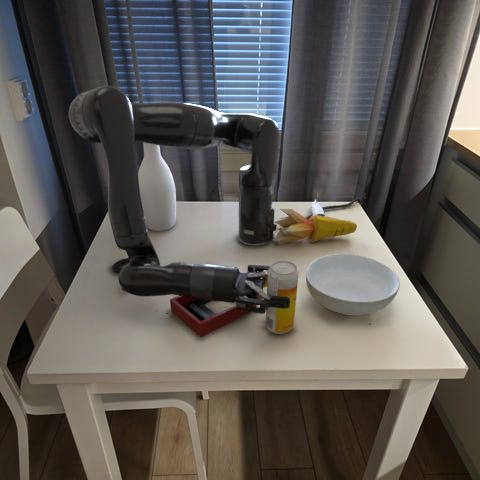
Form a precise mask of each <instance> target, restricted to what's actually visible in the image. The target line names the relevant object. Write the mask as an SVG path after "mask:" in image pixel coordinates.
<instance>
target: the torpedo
mask: <svg viewBox="0 0 480 480" xmlns="http://www.w3.org/2000/svg"><path fill="white" fill-rule="evenodd" d="M318 194H319V192H316V197H318V196H319V195H318ZM322 207H323V204H322V203H321V202H318V201H317V199H314V201H313V202H312V201H311V205H310V206H308V208H309V209H310V212H311V214H312V215H313V216H314V215H319V216H325V217H326V214H325V210H323V208H322Z"/></svg>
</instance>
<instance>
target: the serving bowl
mask: <svg viewBox="0 0 480 480" xmlns="http://www.w3.org/2000/svg"><path fill="white" fill-rule="evenodd" d="M305 284H306V287H307V290H308V292H309V293H310V295H311V296H312V298H313V299H314V300H315V301H316V302H317V303H318V304H320V306H322V307H324V308H326V309H327V310H329V311H332V312H335V313H339V314H341V315H342V314H343V315H348V316H365V315H370V314H373V313H376V312H378V311H381V310H383V309H385V308H386V307H387V306H389V305H390V304H391V303H392V301H393V300H394V299H395V297H396V296H397V294H398V292H399V290H400V287H401V280H400V278H399V276H398V274H397V273H396V272H395V270H393V269H392V268H391V267H389V266H388V265H387V264H385V263H383V262H381V261H379V260H376V259H375V258H371V257H367V256H363V255H359V254H353V253H351V254H349V253H335V254H328V255H325V256H321V257H319V258H317V259H315V260H313V261H312V262H310V264H308V266H307V268H306V270H305Z"/></svg>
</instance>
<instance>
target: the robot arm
mask: <svg viewBox="0 0 480 480" xmlns="http://www.w3.org/2000/svg"><path fill="white" fill-rule="evenodd" d="M68 119H69V122H70V124H71V126H72V128H73V130H74V131H75V132H76V133H77V134H78V135H79V136H80V137H81V138H83V139H84V140H86V141H88V142H92V143H96V144H101V146H102V148H103V151H104V154H105V158H106V163H107V172H108V173H107V175H108V184H107V185H108V186H107V212H108V213H107V214H108V219H109V223H110V226H111V231H112V235H113V240H114V243H115V244H116V246H117V248H118V249H119V250H121V251H125V253H126V255H127V258H129V263H126V264H124V266H123V267H121V268H122V269H121V271H120V273H118V276H117V277H118V278H117V280H118V284H119V286H120V288H123V289H124V290H125V291H124V292H126V293H127V294H130V295H132V296H136V297H163V296H171V295H172V296H187V297H194V298H198V299H203V300H211V302H220V303H229V304H234V303H235V305H236V309H237V310H242V311H248V312H252V313H255V314H262V315H264V314H266V309H269V308H270V307H274V308H283V309H284V308H287V309H288V308H289V306H290V298H288V297H279V296H271V297H270V296H269V295H267V292H264V289H265V288H266V289H267V282H268V270H269V268H270V266H271V265H260V264H247V266H246V267H247V270H246V272H241V271H240V269H239V267H237V266H231V265H230V266H229V265H219V264H211V263H187V262H178V261H177V262H171V263H169V264H166V265H161V262H160V259H159V256H158V253H157V251H156V249H155V247H154V244H153V242H152V240H151V238H150V236H149V229H148V228H147V225H146V220H145V215H144V211H143V206H142V201H141V195H140V188H139V179H138V172H139V168H138V156H137V153H138V152H137V143H149V144H154V145H159V147H167V148H173V149H181V150H192V151H200V150H207V149H209V148H212V147H215V146H221V147H228V148H232V149H235V150H238V151H241V152H243V153H245V154H249V155H251V159H250V164H248V165H244V166H243V167H241V168H240V169H239V171H238V231H237V232H238V237H237V239H238V242H240V243H241V244H242V245H246V246H248V247H249V246H250V247H262V246H266V245H267V244H269V243H271V242H273V241H274V240H273V239H274V232H276V231H277V230H278V229H277V228H278V225H275V224H274V221H275V212H276V211H275V208H273V197H274V196H273V195H274V177H275V174H276V172H277V169H278V168H277V167H278V159H279V149H280V142H281V139H280V138H281V135H280V133H281V131H280V127H279V124H278V123H277V122H276V121H275V119H272V118H269V117H266V116H262V115H258V114H254V113H227V112H226V113H225V112H219V111H217V110H214V109H213V108H209V107H207V106H202V105H198V104H192V103H186V102H179V101H176V102H175V101H163V102H145V103H144V102H143V103H136V102H130V100H129V97H128V96H127V95H126V94H125V92H123V91H122V90H121V89H119V88H118V87H116V86H112V85H103V86H98V87H95V88H92V89H89V90H85V91H83V92H81V93H79V95H77V96H76V97H75V98H74V99H73V100H72V101H71V103H70V106H69V109H68ZM356 202H357V203H361V202H362V199H360V198H358V197H357V198H354V199H352V200H351V201H349V202H348V203H345V204H337V205H327V206H322V208H323V211H325V210H330V209H341V208H347V207H350V206H352V205H353V204H355V203H356ZM311 216H313V215H312V213H311V214H309V215H308V216H305V218H306V219H308V220H309V219H310V217H311ZM266 271H267V272H266ZM235 301H236V302H235ZM254 304H256V305H257V307H254ZM258 306H259V307H258Z"/></svg>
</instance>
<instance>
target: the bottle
mask: <svg viewBox="0 0 480 480" xmlns="http://www.w3.org/2000/svg"><path fill="white" fill-rule="evenodd" d="M142 143H143V142H142ZM160 147H161V146H159V145H154V144H149V143H143V159H142V161H141V164H140V166H139V168H138V179H139V188H140V195H141V201H142V206H143V211H144V215H145V220H146V225H147V229H148V230H150V231H153V232H156V231H157V232H162V231H168V230H170V229H172V228H173V227H174V226H175V224H176V218H177V217H176V216H177V191H176V184H175V180H174V177H173V174H172V172H171V169H170V167H169V166H168V164H167V163H166V161H165V160H164V158H163V157H162V154H161V148H160Z"/></svg>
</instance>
